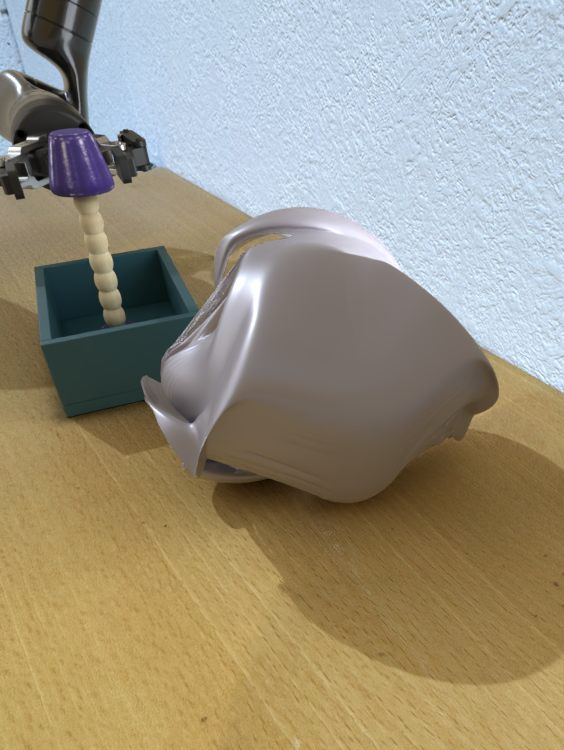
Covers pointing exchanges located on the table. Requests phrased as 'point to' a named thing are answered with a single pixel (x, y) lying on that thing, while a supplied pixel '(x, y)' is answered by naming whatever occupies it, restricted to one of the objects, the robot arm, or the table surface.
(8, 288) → the table surface
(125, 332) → the bin
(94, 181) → the toy lamp
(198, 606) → the table surface
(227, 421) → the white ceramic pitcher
